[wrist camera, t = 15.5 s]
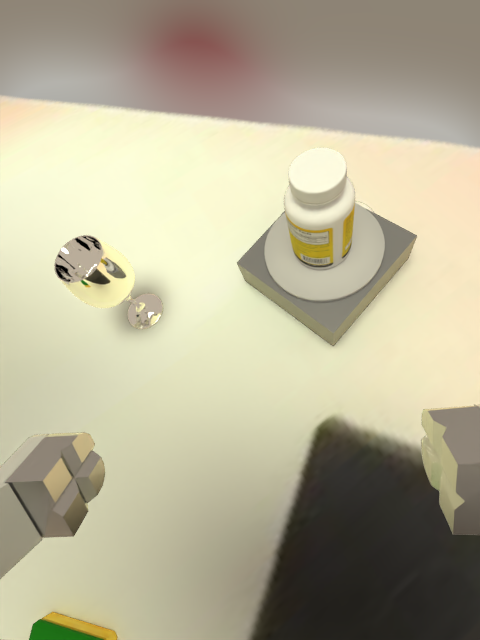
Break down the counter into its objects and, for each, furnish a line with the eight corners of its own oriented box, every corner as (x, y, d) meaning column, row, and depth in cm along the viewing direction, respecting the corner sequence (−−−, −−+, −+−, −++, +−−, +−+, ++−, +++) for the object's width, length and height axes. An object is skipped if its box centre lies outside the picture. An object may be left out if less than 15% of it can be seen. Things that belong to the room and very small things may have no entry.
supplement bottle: (332, 212, 34) (332, 126, 25) (362, 253, 32) (375, 175, 23) (282, 238, 34) (265, 163, 26) (309, 281, 32) (301, 215, 23)
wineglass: (153, 279, 42) (91, 218, 31) (177, 312, 40) (119, 258, 29) (114, 309, 42) (39, 258, 31) (136, 344, 40) (63, 302, 29)
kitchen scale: (245, 280, 39) (234, 258, 35) (317, 201, 41) (316, 171, 36) (333, 346, 34) (333, 330, 30) (411, 253, 36) (423, 225, 32)
